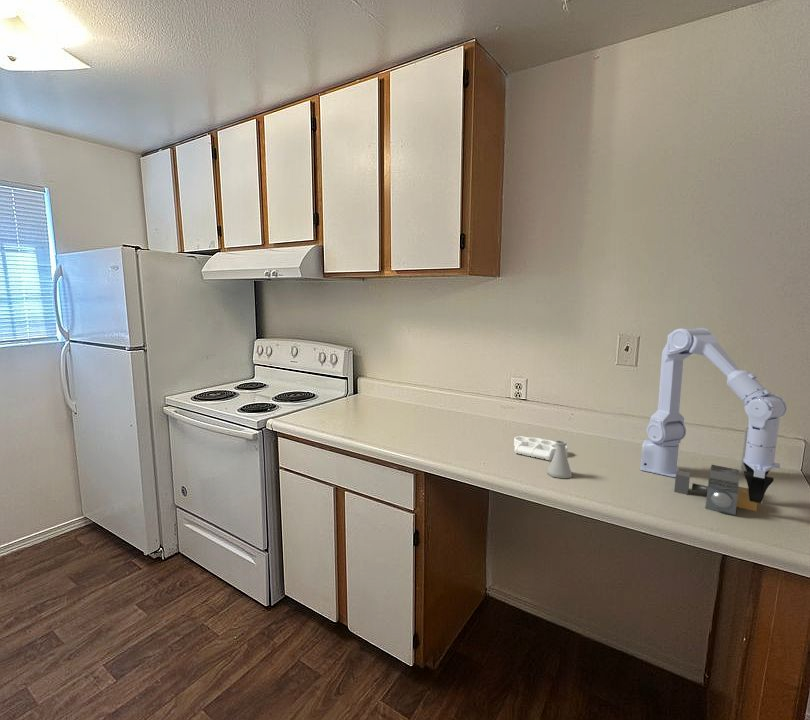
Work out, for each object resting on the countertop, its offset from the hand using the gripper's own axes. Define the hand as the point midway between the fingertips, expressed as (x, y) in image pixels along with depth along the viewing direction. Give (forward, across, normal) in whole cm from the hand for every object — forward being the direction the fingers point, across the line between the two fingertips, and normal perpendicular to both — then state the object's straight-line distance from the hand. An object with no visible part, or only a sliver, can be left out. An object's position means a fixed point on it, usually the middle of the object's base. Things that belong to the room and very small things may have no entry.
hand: (754, 496), depth 111 cm
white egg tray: (+3, +6, +58) cm, 58 cm away
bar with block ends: (+3, 0, +8) cm, 8 cm away
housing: (+3, 0, +7) cm, 7 cm away
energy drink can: (+3, +27, 0) cm, 27 cm away
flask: (+3, -9, +46) cm, 47 cm away
